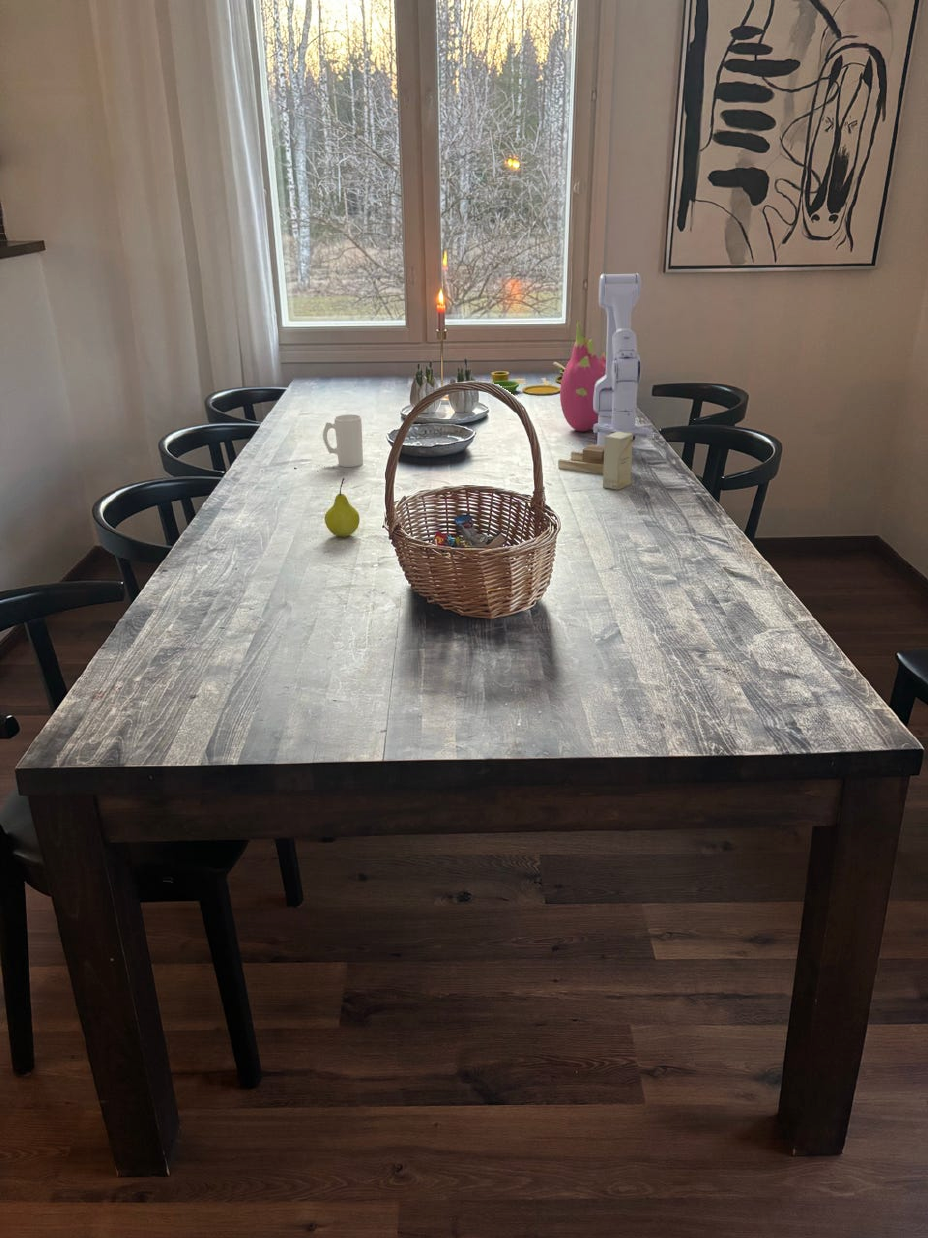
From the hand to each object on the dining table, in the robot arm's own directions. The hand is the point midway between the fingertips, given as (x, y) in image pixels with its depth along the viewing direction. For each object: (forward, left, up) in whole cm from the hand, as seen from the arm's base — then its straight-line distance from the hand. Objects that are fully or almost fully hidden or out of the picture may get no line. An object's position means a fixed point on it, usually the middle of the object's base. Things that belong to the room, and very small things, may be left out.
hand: (621, 464), depth 236 cm
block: (0, -7, -2) cm, 7 cm away
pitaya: (-32, -23, -2) cm, 39 cm away
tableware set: (-83, -56, -2) cm, 100 cm away
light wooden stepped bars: (0, -9, -2) cm, 9 cm away
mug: (+24, -66, -2) cm, 70 cm away
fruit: (+68, -36, -2) cm, 77 cm away
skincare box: (+12, +3, -2) cm, 13 cm away
